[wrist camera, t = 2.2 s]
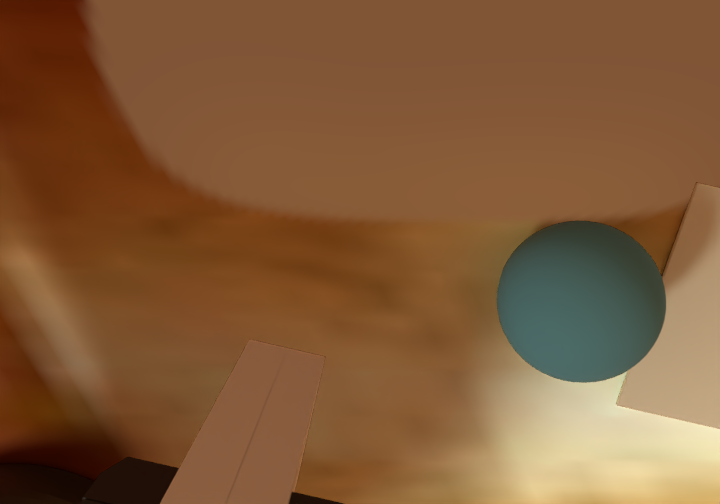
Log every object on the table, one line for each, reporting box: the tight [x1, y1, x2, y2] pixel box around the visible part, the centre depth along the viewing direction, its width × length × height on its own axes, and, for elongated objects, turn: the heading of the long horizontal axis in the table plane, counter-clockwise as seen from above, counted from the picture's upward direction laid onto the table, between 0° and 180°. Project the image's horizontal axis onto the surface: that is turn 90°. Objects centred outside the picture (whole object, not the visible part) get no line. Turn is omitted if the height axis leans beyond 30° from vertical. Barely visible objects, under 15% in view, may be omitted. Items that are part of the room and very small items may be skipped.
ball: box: [497, 221, 666, 382], centre depth 26 cm, size 6×6×6 cm
